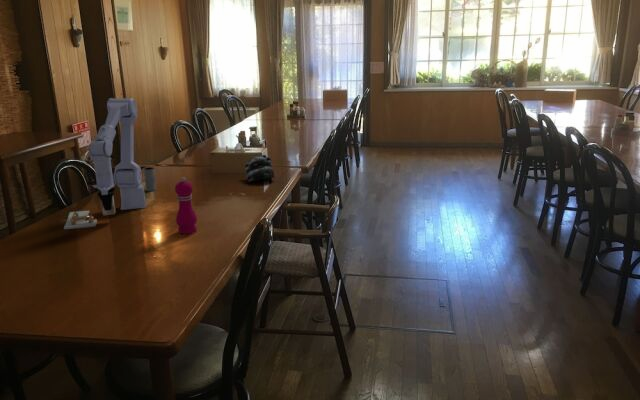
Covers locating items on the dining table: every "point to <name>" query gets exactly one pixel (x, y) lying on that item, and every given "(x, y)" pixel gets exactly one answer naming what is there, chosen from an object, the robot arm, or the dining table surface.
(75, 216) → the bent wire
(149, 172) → the grey upright cylinder
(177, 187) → the pepper mill
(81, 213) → the mat
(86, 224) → the wire base
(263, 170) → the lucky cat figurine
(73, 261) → the dining table surface
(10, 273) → the dining table surface
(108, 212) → the birch block
